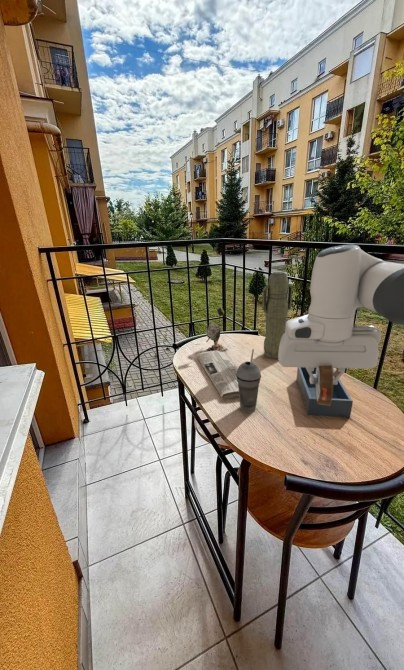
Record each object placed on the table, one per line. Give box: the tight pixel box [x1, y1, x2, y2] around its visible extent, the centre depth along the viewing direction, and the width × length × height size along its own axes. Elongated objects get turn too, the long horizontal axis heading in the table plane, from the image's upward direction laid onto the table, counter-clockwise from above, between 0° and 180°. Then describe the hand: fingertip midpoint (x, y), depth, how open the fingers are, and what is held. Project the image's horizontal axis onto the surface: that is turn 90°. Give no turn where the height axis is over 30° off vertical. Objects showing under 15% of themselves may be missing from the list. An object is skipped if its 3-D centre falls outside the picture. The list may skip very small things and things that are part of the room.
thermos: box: [261, 271, 294, 361], centre depth 115 cm, size 9×12×35 cm
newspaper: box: [196, 350, 239, 400], centre depth 106 cm, size 35×12×4 cm, turn 15°
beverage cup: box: [236, 348, 262, 414], centre depth 82 cm, size 7×7×20 cm
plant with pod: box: [205, 306, 228, 352], centre depth 126 cm, size 8×11×20 cm
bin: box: [296, 367, 354, 418], centre depth 89 cm, size 12×21×6 cm, turn 171°
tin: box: [315, 365, 334, 406], centre depth 63 cm, size 15×3×8 cm, turn 161°
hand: (322, 383), depth 64 cm, fingers closed on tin, 3 cm apart
